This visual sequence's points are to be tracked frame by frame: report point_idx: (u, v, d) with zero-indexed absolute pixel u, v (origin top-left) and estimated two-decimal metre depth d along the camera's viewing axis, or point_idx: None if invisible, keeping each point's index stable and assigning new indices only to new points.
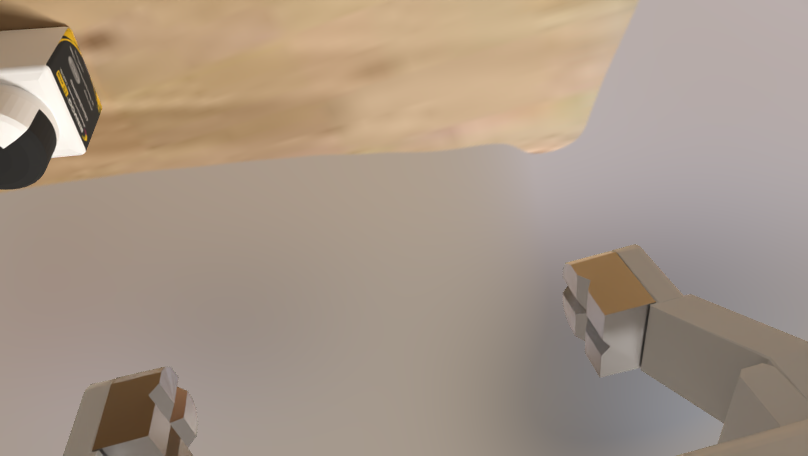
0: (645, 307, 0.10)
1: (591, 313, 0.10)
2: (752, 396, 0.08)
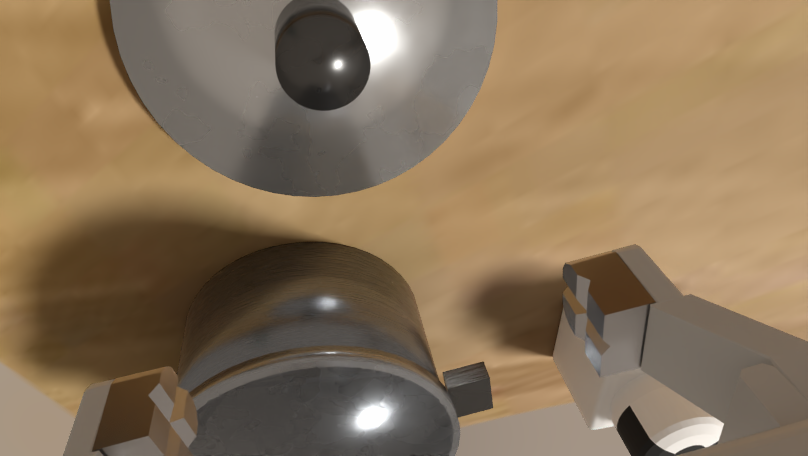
0: (645, 307, 0.10)
1: (591, 313, 0.10)
2: (752, 396, 0.08)
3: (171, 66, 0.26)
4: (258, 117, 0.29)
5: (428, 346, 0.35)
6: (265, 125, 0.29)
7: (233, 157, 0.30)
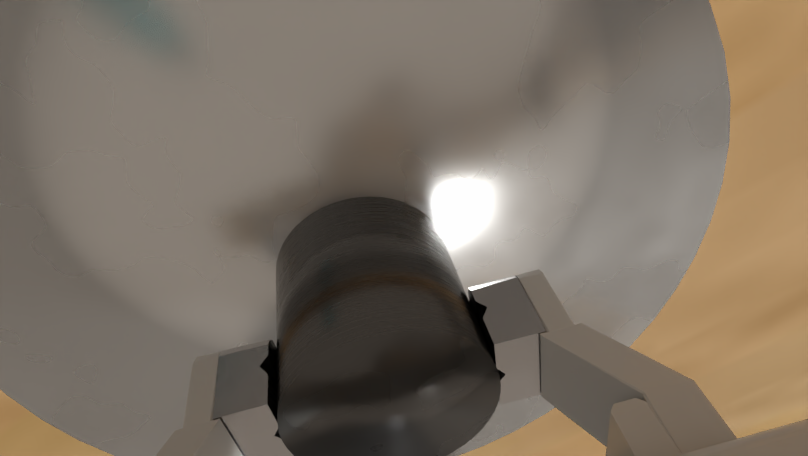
0: (536, 336, 0.10)
1: (487, 340, 0.10)
2: (620, 432, 0.08)
3: (58, 335, 0.13)
4: None
5: None
6: None
7: None
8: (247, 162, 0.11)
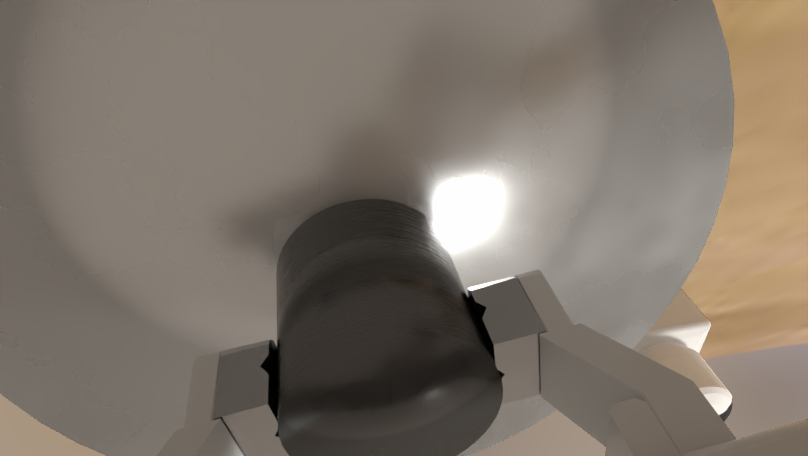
0: (535, 336, 0.10)
1: (486, 341, 0.10)
2: (620, 433, 0.08)
3: (58, 338, 0.12)
4: None
5: None
6: None
7: None
8: (246, 164, 0.11)
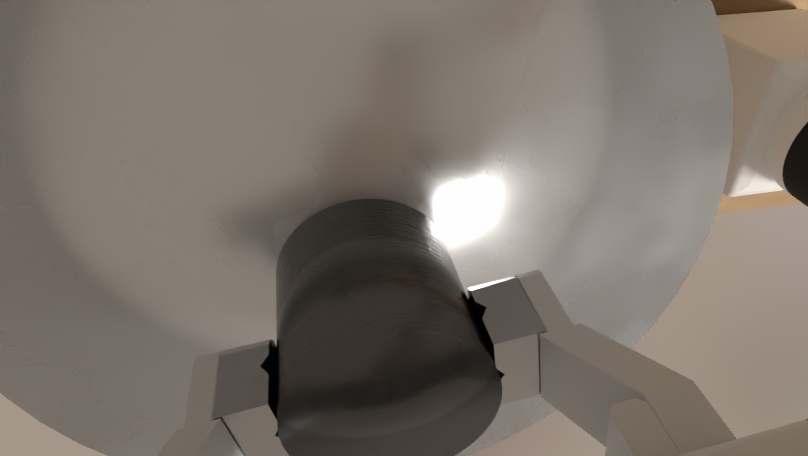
0: (535, 336, 0.10)
1: (486, 340, 0.10)
2: (620, 433, 0.08)
3: (57, 338, 0.13)
4: None
5: None
6: None
7: None
8: (246, 163, 0.11)
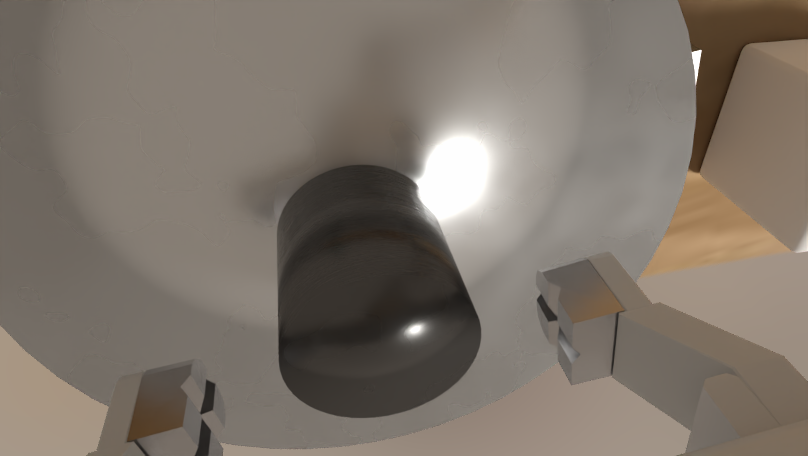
0: (614, 315, 0.10)
1: (561, 321, 0.10)
2: (714, 406, 0.08)
3: (75, 295, 0.14)
4: (245, 355, 0.16)
5: None
6: (257, 365, 0.16)
7: None
8: (250, 130, 0.12)
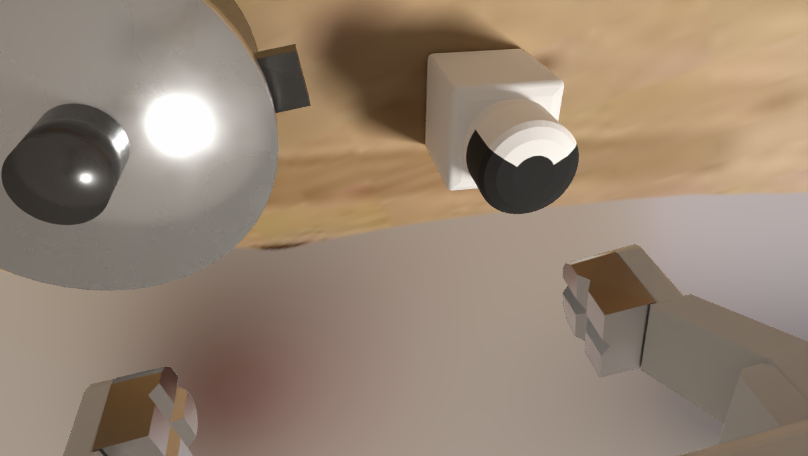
0: (645, 307, 0.10)
1: (591, 313, 0.10)
2: (752, 396, 0.08)
3: None
4: (34, 217, 0.28)
5: None
6: (43, 224, 0.28)
7: (14, 254, 0.29)
8: (8, 82, 0.24)
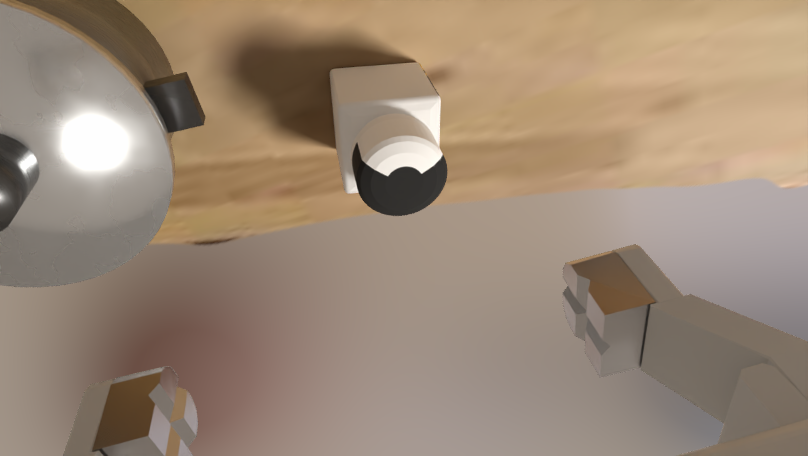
0: (645, 307, 0.10)
1: (590, 313, 0.10)
2: (752, 396, 0.08)
3: None
4: None
5: (148, 73, 0.36)
6: None
7: None
8: None
